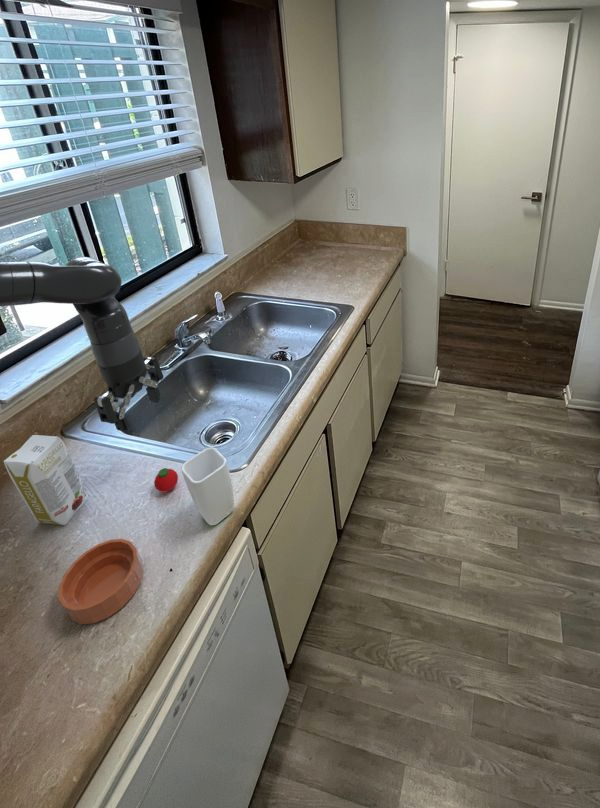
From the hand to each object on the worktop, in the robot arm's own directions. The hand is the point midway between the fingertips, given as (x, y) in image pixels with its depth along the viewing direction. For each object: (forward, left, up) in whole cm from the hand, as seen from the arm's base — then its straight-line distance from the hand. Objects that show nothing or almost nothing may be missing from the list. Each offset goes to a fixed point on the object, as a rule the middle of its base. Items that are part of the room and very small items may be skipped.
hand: (140, 414), depth 93 cm
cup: (+8, -15, -22) cm, 27 cm away
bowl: (-13, -19, -21) cm, 31 cm away
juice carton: (-20, +5, -22) cm, 30 cm away
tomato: (0, -2, -21) cm, 21 cm away
